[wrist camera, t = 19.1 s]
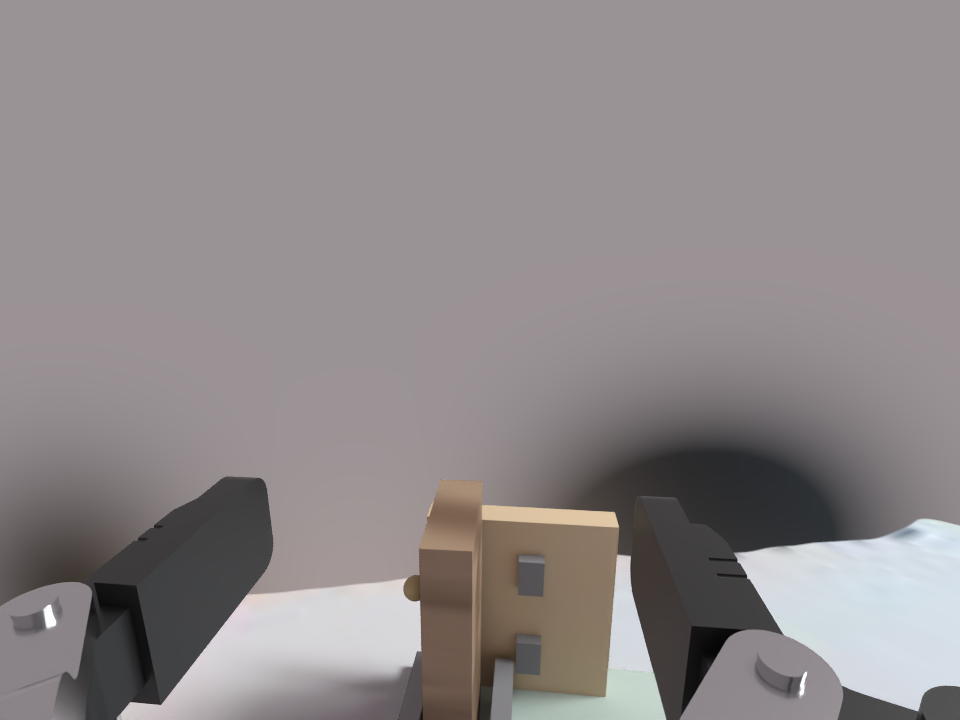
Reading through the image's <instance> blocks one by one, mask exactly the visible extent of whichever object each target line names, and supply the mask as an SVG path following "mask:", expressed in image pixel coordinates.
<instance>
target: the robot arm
mask: <svg viewBox="0 0 960 720" xmlns="http://www.w3.org/2000/svg"><path fill="white" fill-rule="evenodd" d="M272 551H273V535H272V527H271V519H270V511H269V503H268V495H267V488H266V484H265V482H264V481H263V480H262V479H261V478H249V477H224V478H222V479H221V480H220V481H219V482H217V483H216V484H215V485H213V486H212V487H211V488H210V489H209V490H207V491H206V492H205V493H204V494H203V495H201V496H200V497H199V498H197V499H195V500H193V501H191V502H189V503H187V504H185V505H183V506H181V507H179V508H177V509H175V510H173V511H172V512H170V513H169V514H168V515H166V516H165V517H164V518H163V519H161V520H160V521H159V522H158V523H156V524H155V525H154V528H150V529H149V530H148V531H146V532H145V533H144V534H142V535H141V536H140V537H139V538H138V541H133V542H132V543H131V544H130V545H128V546H127V547H126V548H125V549H123V550H122V551H121V552H120V553H118V554H117V555H116V556H115V557H113V558H112V559H111V560H109V561H108V562H107V563H106V564H104V565H103V566H102V567H100V568H99V569H98V570H97V571H95V572H94V573H93V574H92V575H90V576H89V577H88V578H87V579H85V580H84V581H83V582H81V583H78V582H65V583H58V584H52V585H48V586H44V587H41V588H38V589H35V590H33V591H30V592H27V593H25V594H22V595H20V596H18V597H16V598H14V599H12V600H11V601H9V602H7V603H5V604H4V605H2V606H0V720H122V719H121V712H122V711H123V710H124V709H125V708H126V706H127V705H128V704H129V703H130V702H136V703H147V704H157V705H161V704H162V703H163V702H164V700H165V699H166V698H167V696H168V695H169V694H170V693H171V691H172V690H173V689H174V687H175V686H176V685H177V684H178V682H179V681H180V680H181V679H182V677H183V676H184V675H185V673H186V672H187V671H188V670H189V668H190V667H191V666H192V664H193V663H194V662H195V661H196V659H197V658H198V657H199V655H200V654H201V653H202V652H203V650H204V649H205V648H206V646H207V645H208V644H209V643H210V641H211V640H212V639H213V637H214V636H215V635H216V634H217V632H218V631H219V630H220V628H221V627H222V626H223V625H224V623H225V622H226V621H227V619H228V618H229V617H230V616H231V614H232V613H233V612H234V610H235V609H236V608H237V607H238V605H239V604H240V603H241V601H242V600H243V599H244V598H245V596H246V595H247V594H248V592H249V591H250V590H251V588H252V587H253V586H254V585H255V583H256V582H257V581H258V580H259V578H260V577H261V576H262V574H263V573H264V572H265V570H266V569H267V567H268V565H269V562H270V559H271V556H272ZM630 572H631V586H632V593H633V597H634V601H635V605H636V608H637V612H638V616H639V620H640V623H641V627H642V631H643V634H644V638H645V642H646V646H647V649H648V653H649V657H650V661H651V664H652V668H653V672H654V675H655V679H656V683H657V687H658V690H659V694H660V698H661V702H662V705H663V709H664V713H665V716H666V720H960V687H957V686H938V687H934V688H931V689H929V690H928V691H927V692H925V694H924V695H923V697H922V700H921V703H920V707H919V711H915V710H911V709H908V708H905V707H902V706H899V705H895V704H892V703H889V702H886V701H883V700H880V699H876V698H873V697H870V696H867V695H864V694H861V693H858V692H855V691H853V690H850V689H848V688H846V687H844V686H842V685H841V683H840V681H839V678H838V677H837V675H836V674H835V672H834V671H833V669H832V668H831V667H830V666H829V665H828V664H827V663H826V662H825V661H824V660H823V659H822V658H821V657H820V656H819V655H818V654H816V653H815V652H814V651H812V650H811V649H809V648H808V647H806V646H805V645H803V644H801V643H799V642H797V641H796V640H794V639H791V638H789V637H786V636H784V635H783V633H782V632H781V630H780V628H779V627H778V625H777V623H776V622H775V620H774V619H773V617H772V615H771V614H770V612H769V610H768V609H767V607H766V605H765V604H764V602H763V601H762V599H761V597H760V596H759V594H758V592H757V591H756V589H755V587H754V586H753V584H752V583H751V581H750V579H747V574H746V573H745V571H744V569H743V568H742V566H741V564H740V563H738V562H737V558H736V556H735V555H734V553H733V551H732V550H731V548H730V546H729V545H728V543H727V542H726V540H724V539H723V538H722V537H721V536H719V535H718V534H717V533H716V532H714V531H713V530H712V529H711V528H709V527H708V526H707V525H705V524H690V522H689V520H688V519H687V517H686V515H685V513H684V511H683V509H682V507H681V505H680V504H679V501H678V500H677V499H676V498H668V497H646V496H645V497H644V496H638V497H637V500H636V504H635V515H634V527H633V539H632V551H631V566H630Z"/></svg>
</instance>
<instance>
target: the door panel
mask: <svg viewBox="0 0 960 720" xmlns="http://www.w3.org/2000/svg"><path fill="white" fill-rule="evenodd" d="M419 564H420V565H419V568H420V576H419V575H414V576H411V577H409V578H408V579H407V580H406V582H405V584H404V589H403V590H404V594H405V596H406V597H407V598H408V599H409V600H411V601H419V600H420V609H421V650H422V691H423V720H479V713H480V700H481V583H482V481H464V480H440V484H439V487H438V490H437V493H436V496H435V500H434V503H433V506H432V509H431V512H430V515H429V519H428V522H427V525H426V528H425V532H424V535H423V538H422V541H421V544H420V548H419Z"/></svg>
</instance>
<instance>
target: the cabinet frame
mask: <svg viewBox="0 0 960 720" xmlns="http://www.w3.org/2000/svg"><path fill="white" fill-rule="evenodd" d="M433 503H434V502H433ZM433 503H432V505H431V507H430V510H429V513H428V516H427V522H428V519H429V515H430V512H431V509H432V506H433ZM618 533H619V526H618V523H617V519H616V516H615V513H614V512H599V511H581V510H580V511H579V510H563V509H544V508H527V507H509V506H491V505H482V583H481V700H480V713H479V720H666V716H665V713H664V709H663V705H662V702H661V698H660V694H659V690H658V687H657V683H656V679H655V675H654V672H643V671H631V670H619V669H608V661H609V648H610V636H611V623H612V610H613V598H614V585H615V572H616V560H617V547H618V535H619V534H618ZM398 720H423V691H422V652H417V653H416V657H415V661H414V664H413V668H412V672H411V675H410V679H409V683H408V686H407V690H406V694H405V697H404V701H403V705H402V708H401V712H400V715H399V719H398Z"/></svg>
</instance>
